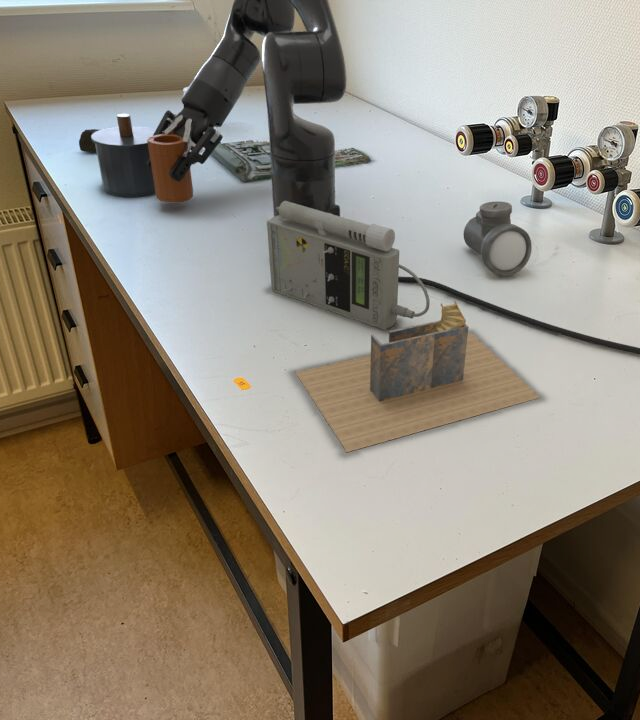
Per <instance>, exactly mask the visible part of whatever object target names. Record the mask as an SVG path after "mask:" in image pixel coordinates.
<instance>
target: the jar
mask: <svg viewBox="0 0 640 720" xmlns="http://www.w3.org/2000/svg"><path fill="white" fill-rule="evenodd" d="M147 142H148V148H149V155H150V161H151V168H152V174H153V181H154V187H155V194H154V195H155V198H156V199H157V200H158V201H160V202H162V203H168V204H169V203H170V204H172V203H173V204H174V203H176V204H177V203H183V202H187V201H189V200H191V199H193V197H194V187H193V179H192V171H191V167H190V168H189V170H188V171H187V173H186V174H185V176H184V177H183V178H182V180H181V181H180V182H178V181H176V180H174V179H173V178H172V177H170V176H169V172H170V170H171V169H172V167H173V166H174V164H175V163H176V161H177V160H178V158H179V156H181V157H183V156H182V151H183V148H184V141H183V138H182V137H180V136H177V135H174V134H159V135H154V136H151V137H149V138H148V139H147Z"/></svg>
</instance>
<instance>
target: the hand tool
mask: <svg viewBox="0 0 640 720" xmlns="http://www.w3.org/2000/svg"><path fill="white" fill-rule="evenodd" d="M99 130H100V129H97V128H94V129H93V128H92V129H84V131H82V132H81V134H80V138H79V140H78V147H79V150H80V151H81V152H85V153H96V154H97V151H96V146H95V143H94V142H92V140H91V135H92V134H93V133H95V132H96V131H99ZM162 134H164V132H162ZM173 134H174V133H173Z"/></svg>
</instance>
